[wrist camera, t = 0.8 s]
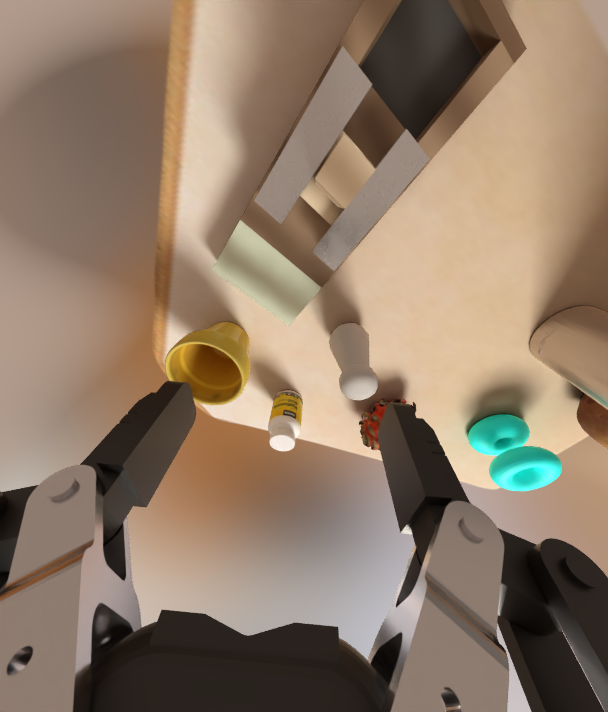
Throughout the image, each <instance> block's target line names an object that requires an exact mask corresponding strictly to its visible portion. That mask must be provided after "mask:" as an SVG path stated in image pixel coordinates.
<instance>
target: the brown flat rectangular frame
mask: <svg viewBox="0 0 608 712" xmlns="http://www.w3.org/2000/svg"><path fill="white" fill-rule="evenodd" d="M342 46H343V47H344V48H345V49H346V51H347V52H348V53H349V55H350V56H351V57H352V59H353V60H354V61H355V62H356V64H357V65H358V66H359V68H360V69H361V70H362V72H363V73H364V74H365V75H366V77H367V78H368V79H369V81H370V82H371V83H372V86H371V88H370V90H369V92H368V93H367V95H366V96H365V98H364V99H363V101H362V102H361V104H360V105H359V107H358V108H357V110H356V112H355V113H354V115H353V116H352V118H351V119H350V121H349V122H348V124H347V125H346V127H345V128H344V130H343V131H344V132H345V133H346V135H347V136H348V137H349V138H350V139H351V140H352V141H353V143H354V144H355V145H356V146H357V147H358V148H359V149H360V151H361V152H362V153H363V154H364V155H365V156H366V158H367V159H368V160H369V161H370V162H371V163H372V164H373V166H374V167H376V166H377V165H378V163H379V162H380V161H381V159H382V158H383V157H384V155H385V154H386V153H387V151H388V150H389V149H390V148H391V146H392V145H393V144H394V142H395V141H396V140H397V138H398V137H399V136H400V134H401V133H402V132H403V131H404V130H405V129H407V130H408V131H409V132H410V134H411V135H412V136H413V138H414V139H415V140H416V142H417V143H418V144H419V145H420V147H421V148H422V149H423V151H424V152H425V153H426V155H427V156H428V157H429V158H430V160H429V161H428V162H427V163H426V164H425V165H424V167H423V168H422V169H421V170H420V171H419V173H418V174H417V175H416V176H415V177H414V178H413V180H412V181H411V182H410V183H409V184H408V185H407V187H406V188H405V189H404V190H403V191H402V192H401V194H400V195H399V196H398V197H397V198H396V199H395V201H394V202H393V203H392V204H391V205H390V206H389V208H388V209H387V210H386V211H385V212H384V214H385V213H386V212H387V211H388V210H389V209H390V207H391V206H392V205H393V204H394V203H395V202H396V200H397V199H398V198H399V197H400V196H401V195H402V193H403V192H404V191H405V190H406V189H407V188H408V186H409V185H410V184H411V183H412V182H413V181H414V179H415V178H416V177H417V176H418V175H419V174H420V172H421V171H422V170H423V169H424V168H425V167H426V165H427V164H428V163H429V162H430V161H431V160H432V158H433V157H434V156H435V155H436V154H437V153H438V151H439V150H440V149H441V148H442V147H443V146H444V144H445V143H446V142H447V141H448V140H449V139H450V137H451V136H452V135H453V134H454V133H455V132H456V130H457V129H458V128H459V127H460V126H461V125H462V123H463V122H464V121H465V120H466V119H467V118H468V116H469V115H470V114H471V113H472V112H473V111H474V109H475V108H476V107H477V106H478V105H479V104H480V102H481V101H482V100H483V99H484V98H485V97H486V95H487V94H488V93H489V92H490V91H491V90H492V88H493V87H494V86H495V85H496V84H497V83H498V81H499V80H500V79H501V78H502V77H503V76H504V74H505V73H506V72H507V71H508V70H509V69H510V67H511V66H512V65H513V64H514V63H515V62H516V60H517V59H518V58H519V57H520V56H521V55H522V53H523V52H524V51H525V50H526V49H527V48H526V47H525V45H524V43H523V41H522V39H521V37H520V35H519V33H518V31H517V29H516V27H515V25H514V24H513V22H512V20H511V18H510V16H509V14H508V12H507V10H506V8H505V6H504V4H503V2H502V0H364V1H363V3H362V5H361V6H360V8H359V10H358V12H357V14H356V15H355V17H354V19H353V21H352V22H351V24H350V26H349V28H348V30H347V31H346V33H345V35H344V37H343V38H342V40H341V42H340V44H339V45H338V47H337V49H336V51H335V53H334V54H333V56H332V58H331V60H330V61H329V63H328V65H327V67H326V69H325V70H324V72H323V74H322V76H321V77H320V79H319V81H318V83H317V84H316V86H315V88H314V90H313V92H312V93H311V95H310V97H309V99H308V100H307V102H306V104H305V106H304V108H303V109H302V111H301V113H300V115H299V116H298V118H297V120H296V122H295V123H294V125H293V127H292V129H291V131H290V132H289V134H288V136H287V138H286V139H285V141H284V143H283V145H282V147H281V148H280V150H279V152H278V154H277V155H276V157H275V159H274V161H273V162H272V164H271V166H270V168H269V170H268V171H267V173H266V175H265V177H264V178H263V180H262V182H261V184H260V186H259V187H258V189H257V191H256V193H255V194H254V196H253V198H252V200H251V201H250V203H249V205H248V207H247V209H246V210H245V212H244V214H243V216H242V217H241V219H240V221H239V223H238V225H237V226H236V228H235V230H234V232H233V233H232V235H231V237H230V239H229V241H228V242H227V244H226V246H225V248H224V249H223V251H222V253H221V255H220V256H219V258H218V260H217V262H216V264H215V265H214V267H213V269H212V270H213V271H214V272H215V273H217V274H218V275H219V276H221V277H222V278H224V279H225V280H226V281H228V282H229V283H230V284H232V285H233V286H235V287H236V288H237V289H239V290H240V291H241V292H243V293H244V294H245V295H247V296H248V297H250V298H251V299H252V300H254V301H255V302H256V303H258V304H259V305H261V306H262V307H263V308H265V309H266V310H267V311H269V312H270V313H272V314H273V315H274V316H276V317H277V318H278V319H280V320H281V321H283V322H284V323H285V324H287V325H288V326H289V325H290V324H291V323H292V322H293V321H294V319H295V318H296V317H297V316H298V315H299V314H300V312H301V311H302V310H303V309H304V308H305V307H306V305H307V304H308V303H309V302H310V301H311V300H312V298H313V297H314V296H315V295H316V294H317V293H318V291H319V290H320V289H321V288H322V287H323V286H324V284H325V283H326V282H327V281H328V280H329V279H330V277H331V276H332V275H333V274H334V273H335V272H336V270H337V269H338V268H339V267H340V266H341V265H342V263H343V262H344V261H345V260H346V259H347V258H348V256H349V255H350V254H351V253H352V252H353V251H354V249H355V248H356V247H357V246H358V245H359V244H360V242H361V241H362V240H363V239H364V238H365V237H366V235H367V234H368V233H369V232H370V231H371V230H372V228H373V227H374V226H375V225H376V224H377V223H378V221H379V220H380V219H381V218H382V217H383V216H384V214H383V215H382V216H381V217H380V218H379V219H378V221H377V222H376V223H375V224H374V225H373V226H372V228H371V229H370V230H369V231H368V232H367V233H366V235H365V236H364V237H363V238H362V239H361V240H360V242H359V243H358V244H357V245H356V246H355V247H354V249H353V250H352V251H351V252H350V253H349V254H348V256H347V257H346V258H345V259H344V260H343V262H342V263H341V264H340V265H339V266H338V267H337V269H336V270H335V271H333V270H332V269H331V268H330V267H329V266H327V265H326V264H325V263H324V262H323V261H322V260H321V259H319V258H318V257H317V256H316V255H315V254H314V253H313V252H312V250H313V248H314V247H315V246H316V244H317V243H318V242H319V241H320V239H321V238H322V237H323V235H324V234H325V233H326V231H327V230H328V229H329V227H330V226H331V225H330V224H329V223H328V222H327V221H326V220H325V219H324V218H323V217H322V216H321V215H320V214H319V213H318V212H317V211H316V210H315V209H313V208H312V207H311V206H310V205H309V204H308V203H307V202H306V201H305V200H304V199H303V198H302V197H301V196H300V197H299V198H298V200H297V201H296V203H295V204H294V206H293V207H292V209H291V210H290V212H289V214H288V215H287V217H286V218H285V220H284V221H283V223H282V224H280V223H279V222H278V221H276V220H275V219H274V218H273V217H272V216H271V215H270V214H268V213H267V212H266V211H265V210H264V209H263V208H262V207H261V206H259V205H258V204H257V203H256V202H255V201H254V200H255V198H256V197H257V195H258V193H259V191H260V190H261V188H262V186H263V184H264V183H265V181H266V179H267V177H268V176H269V174H270V172H271V170H272V169H273V167H274V165H275V163H276V162H277V160H278V158H279V156H280V155H281V153H282V151H283V149H284V148H285V146H286V144H287V142H288V141H289V139H290V137H291V135H292V134H293V132H294V130H295V128H296V127H297V125H298V123H299V121H300V120H301V118H302V116H303V114H304V113H305V111H306V109H307V107H308V106H309V104H310V102H311V100H312V99H313V97H314V95H315V93H316V92H317V90H318V88H319V86H320V85H321V83H322V81H323V79H324V78H325V76H326V74H327V72H328V71H329V69H330V67H331V65H332V64H333V62H334V60H335V58H336V57H337V55H338V53H339V51H340V50H341V48H342Z"/></svg>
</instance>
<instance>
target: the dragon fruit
mask: <svg viewBox="0 0 608 712" xmlns="http://www.w3.org/2000/svg"><path fill="white" fill-rule="evenodd" d="M393 401H394V402H393ZM393 401H392V402H393V403H396V402H399V401H401V402H400V403H403V404H405V403H406V400H404V399H403V400H402V399H398V400H397V399H395V400H393ZM379 404H382V405H384V406H383V407H381V406H379ZM387 404H388V401H387V400H384V399H382V400H381V401H380V402H379V403H376V404H374V405H373V406H372V407H371V413H368V412H365V413H363V414H362V415H361V416H362V419H363V415H365V416H366V417H368V418H367V420H362V421H360V422H359V425H360V424H361V430H360V433H361V435H362V437H361V438H362V439H363V444H364V445H365V446H367V447H370V446H371V449H372V450H377V449H378V450H380V447H379V443H378V429H379V426H380V423H381V420H382V418H383V415H384V412H385V410H386V407H387ZM410 406H411V407H412V409H413V411H414V414H415V412H416V404H415V403H414V402H413V406H412V405H410ZM374 408H376V410H375V411H374Z"/></svg>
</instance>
